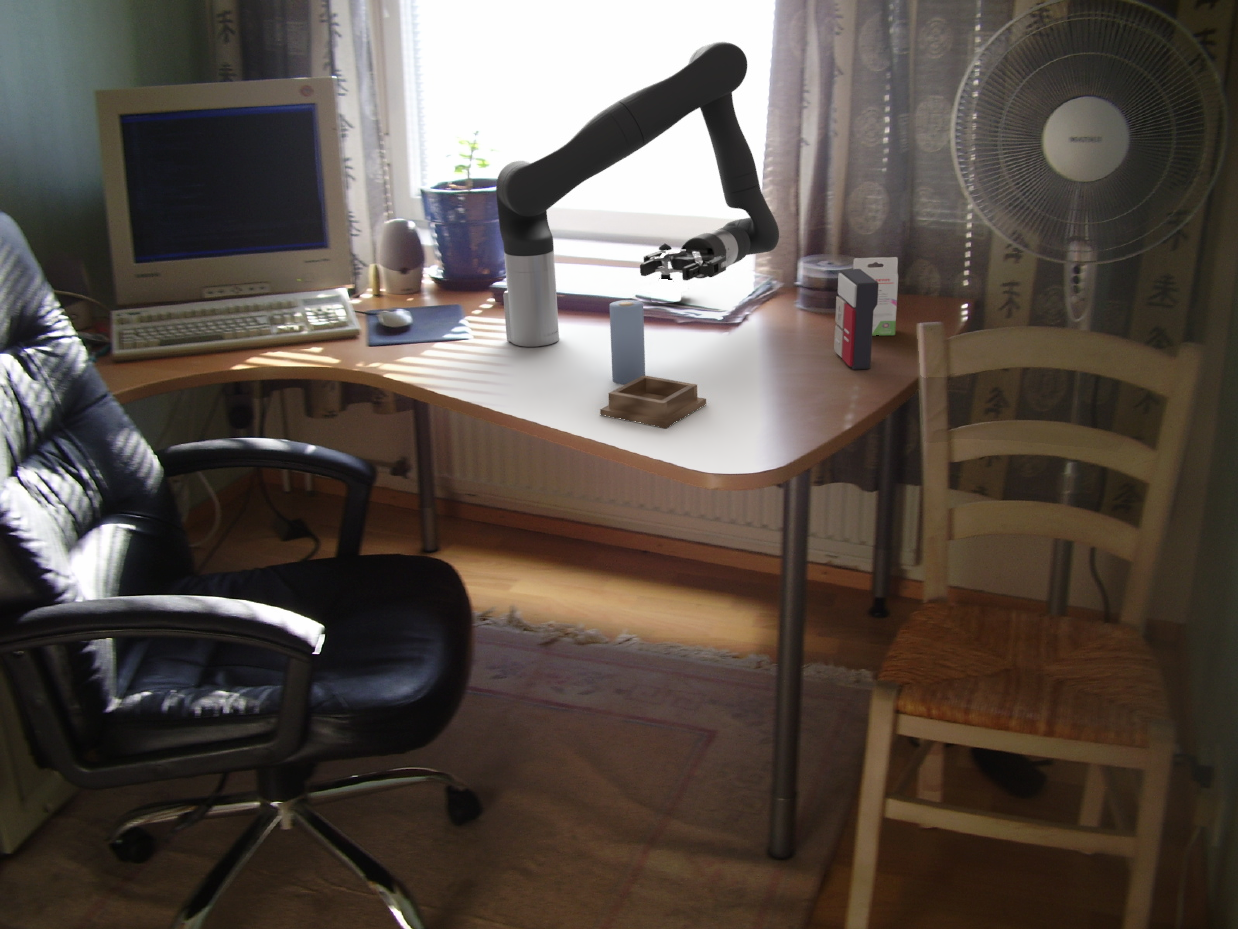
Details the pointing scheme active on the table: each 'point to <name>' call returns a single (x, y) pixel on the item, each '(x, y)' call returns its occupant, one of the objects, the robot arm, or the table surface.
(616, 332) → the blue-grey tall cylinder
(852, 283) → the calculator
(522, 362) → the table surface
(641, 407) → the walnut holder
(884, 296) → the ink box
